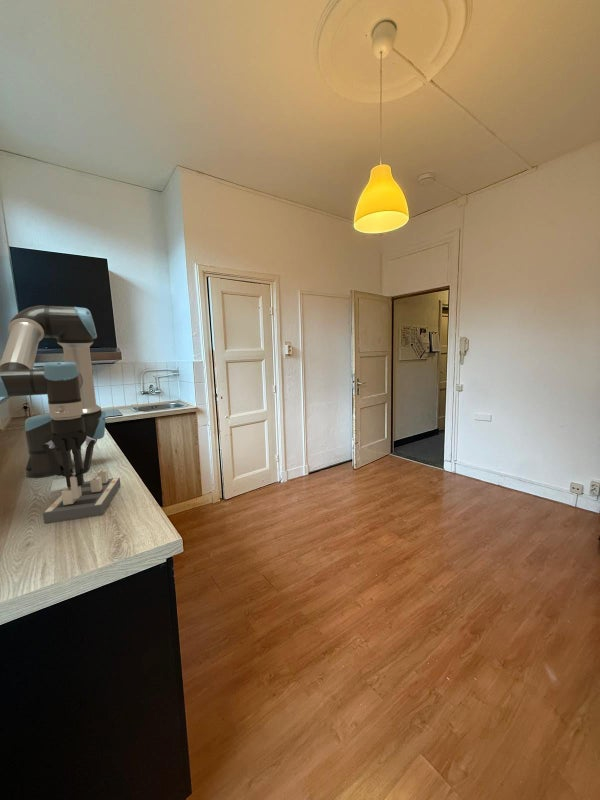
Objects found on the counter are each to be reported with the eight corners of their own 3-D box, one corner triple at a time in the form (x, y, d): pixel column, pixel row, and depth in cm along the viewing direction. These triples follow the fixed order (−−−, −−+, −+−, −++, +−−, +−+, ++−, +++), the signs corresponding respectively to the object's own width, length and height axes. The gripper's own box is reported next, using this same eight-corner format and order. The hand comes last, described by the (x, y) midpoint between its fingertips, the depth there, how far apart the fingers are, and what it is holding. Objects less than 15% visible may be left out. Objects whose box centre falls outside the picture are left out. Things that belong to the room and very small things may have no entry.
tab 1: (66, 501, 92) (64, 487, 92) (76, 500, 93) (74, 485, 92) (63, 505, 90) (61, 490, 89) (73, 503, 91) (71, 489, 90)
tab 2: (93, 489, 100) (92, 476, 100) (102, 488, 101) (100, 475, 100) (91, 492, 98) (89, 479, 97) (100, 491, 99) (98, 478, 98)
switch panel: (74, 491, 107) (73, 482, 107) (120, 485, 112) (119, 477, 111) (44, 523, 87) (42, 512, 86) (102, 514, 91) (101, 504, 90)
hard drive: (52, 479, 115) (50, 491, 105) (79, 474, 120) (79, 485, 110) (53, 484, 116) (50, 496, 106) (80, 478, 120) (80, 489, 110)
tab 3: (100, 481, 107) (99, 468, 106) (108, 480, 108) (107, 468, 107) (98, 484, 105) (96, 471, 104) (106, 483, 105) (105, 470, 105)
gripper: (32, 421, 83) (44, 506, 86) (89, 417, 87) (99, 498, 90) (45, 416, 90) (56, 495, 93) (97, 413, 94) (106, 488, 97)
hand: (77, 496), depth 92 cm, fingers closed
